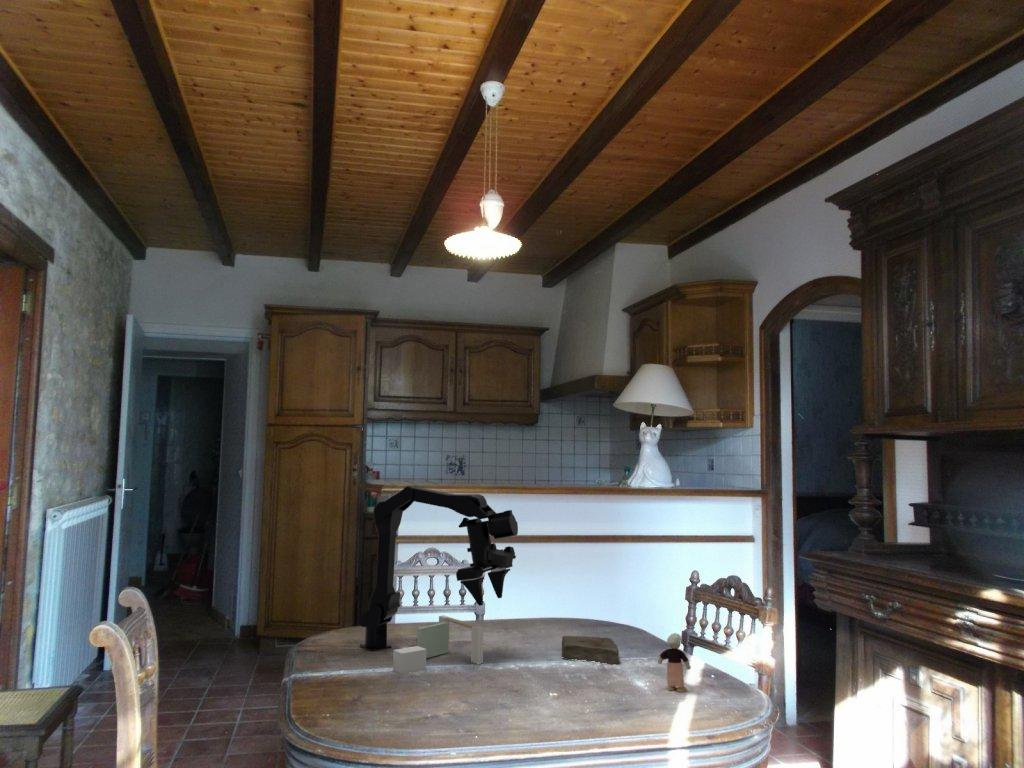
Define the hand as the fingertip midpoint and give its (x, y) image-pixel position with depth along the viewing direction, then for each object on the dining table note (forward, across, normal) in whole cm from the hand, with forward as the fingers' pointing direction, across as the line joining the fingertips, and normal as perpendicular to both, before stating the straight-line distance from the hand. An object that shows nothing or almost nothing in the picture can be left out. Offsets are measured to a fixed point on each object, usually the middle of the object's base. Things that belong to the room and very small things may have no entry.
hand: (490, 601), depth 208 cm
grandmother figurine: (+25, +2, -45) cm, 51 cm away
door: (+11, -7, +17) cm, 21 cm away
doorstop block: (+11, -20, +14) cm, 27 cm away
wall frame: (+13, -3, +11) cm, 17 cm away
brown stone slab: (+20, +18, -16) cm, 31 cm away
